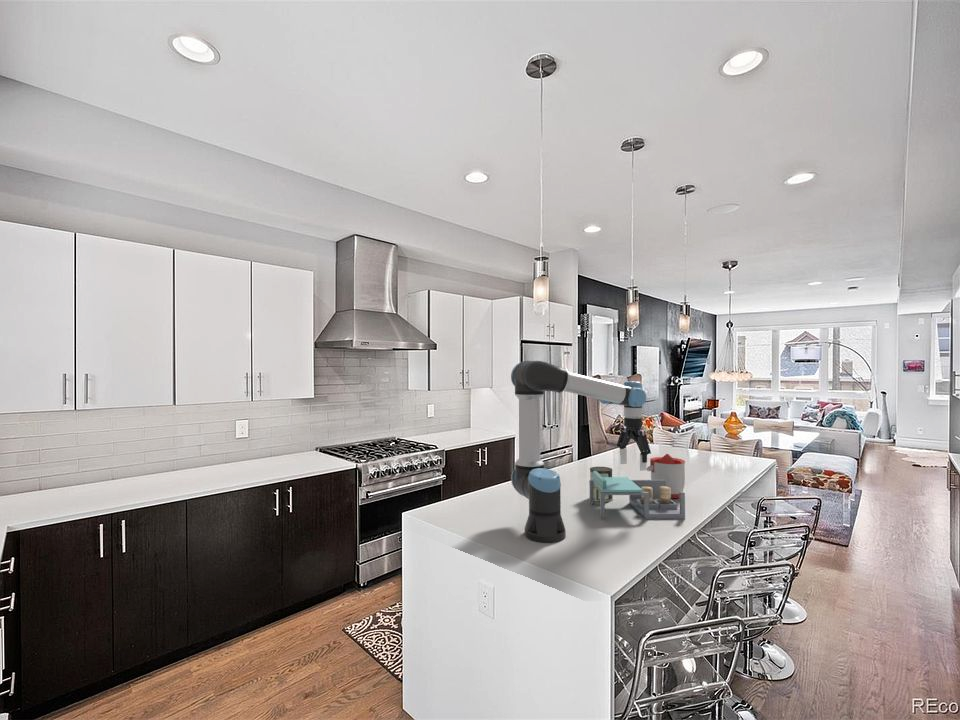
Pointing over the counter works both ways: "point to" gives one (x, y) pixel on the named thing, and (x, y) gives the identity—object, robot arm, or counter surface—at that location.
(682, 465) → the citrus juicer
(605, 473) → the coffee can
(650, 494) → the tan rounded cylinder
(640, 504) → the frame
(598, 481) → the lid
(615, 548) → the counter surface
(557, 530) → the robot arm
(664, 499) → the tan wooden cylinder
